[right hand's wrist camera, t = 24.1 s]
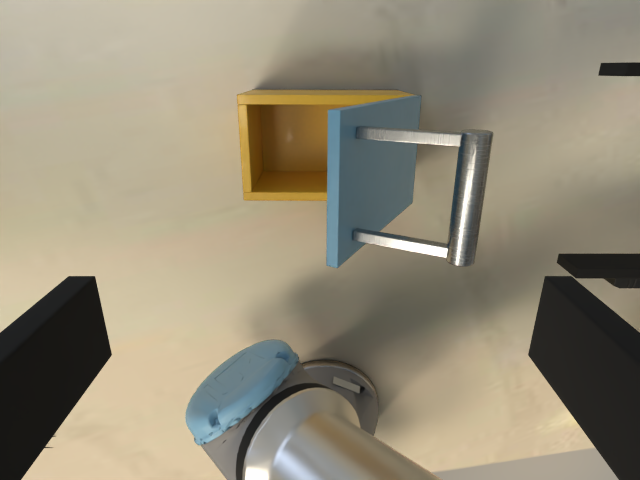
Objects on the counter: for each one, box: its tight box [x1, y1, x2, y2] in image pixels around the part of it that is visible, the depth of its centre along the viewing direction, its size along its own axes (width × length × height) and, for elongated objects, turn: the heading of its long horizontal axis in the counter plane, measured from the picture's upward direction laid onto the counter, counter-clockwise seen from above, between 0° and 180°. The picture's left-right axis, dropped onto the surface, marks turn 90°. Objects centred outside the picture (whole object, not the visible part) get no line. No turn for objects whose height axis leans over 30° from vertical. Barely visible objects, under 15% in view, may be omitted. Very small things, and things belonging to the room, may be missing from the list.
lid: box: [327, 95, 493, 268], centre depth 30 cm, size 16×10×8 cm
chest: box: [237, 89, 413, 201], centre depth 44 cm, size 16×10×10 cm, turn 90°
